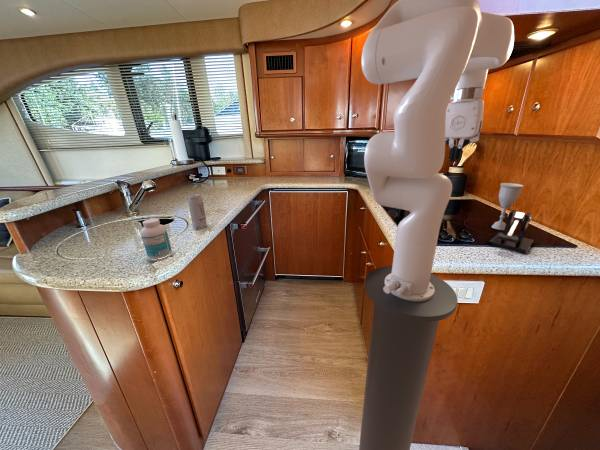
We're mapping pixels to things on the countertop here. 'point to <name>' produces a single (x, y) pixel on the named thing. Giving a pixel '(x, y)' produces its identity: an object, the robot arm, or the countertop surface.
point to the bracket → (522, 244)
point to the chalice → (506, 201)
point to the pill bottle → (155, 240)
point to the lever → (513, 228)
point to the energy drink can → (197, 211)
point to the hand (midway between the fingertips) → (454, 161)
